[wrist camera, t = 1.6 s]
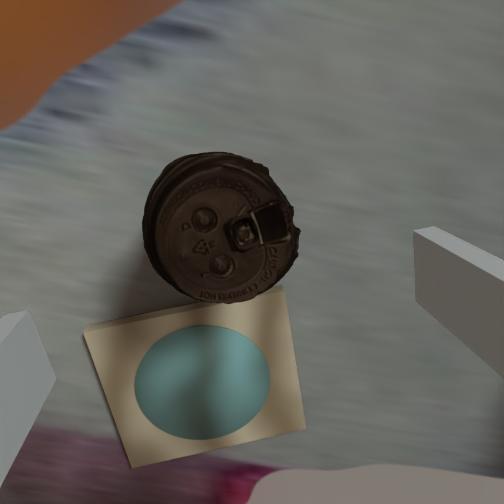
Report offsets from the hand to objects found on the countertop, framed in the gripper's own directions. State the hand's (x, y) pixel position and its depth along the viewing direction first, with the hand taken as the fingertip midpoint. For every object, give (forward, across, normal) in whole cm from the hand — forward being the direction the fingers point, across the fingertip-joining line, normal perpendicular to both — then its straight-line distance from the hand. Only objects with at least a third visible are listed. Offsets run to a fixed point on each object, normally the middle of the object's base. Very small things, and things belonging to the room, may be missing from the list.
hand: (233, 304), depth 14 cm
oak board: (+20, +4, +16) cm, 26 cm away
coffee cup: (+20, 0, 0) cm, 20 cm away
